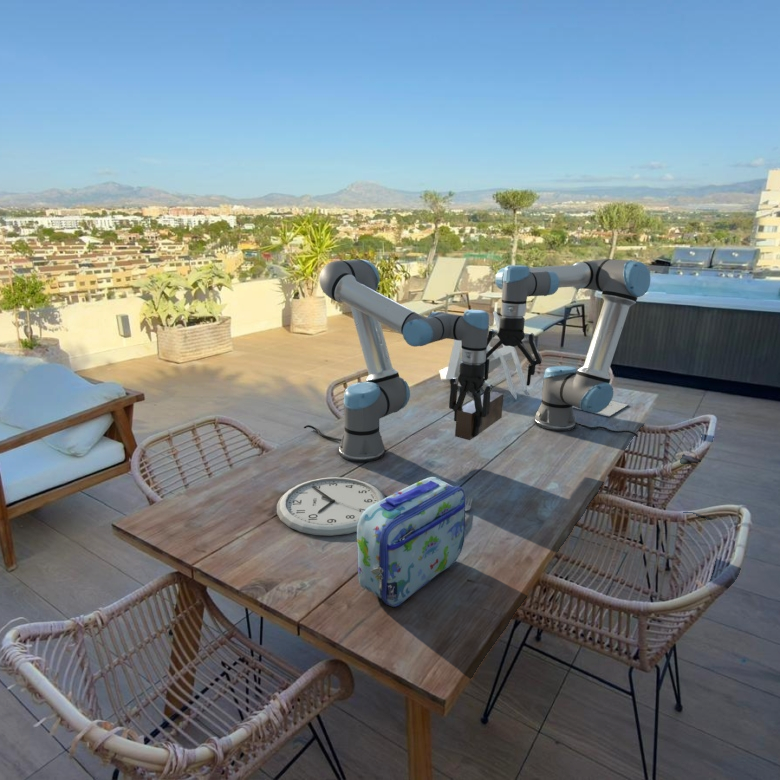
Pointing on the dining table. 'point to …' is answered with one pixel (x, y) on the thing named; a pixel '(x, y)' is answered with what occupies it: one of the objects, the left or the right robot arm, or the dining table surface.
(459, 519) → the lunch box
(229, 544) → the dining table surface
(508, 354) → the white plastic object
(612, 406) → the invitation card
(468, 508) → the fork
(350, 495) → the wall clock
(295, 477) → the dining table surface
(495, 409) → the bar
